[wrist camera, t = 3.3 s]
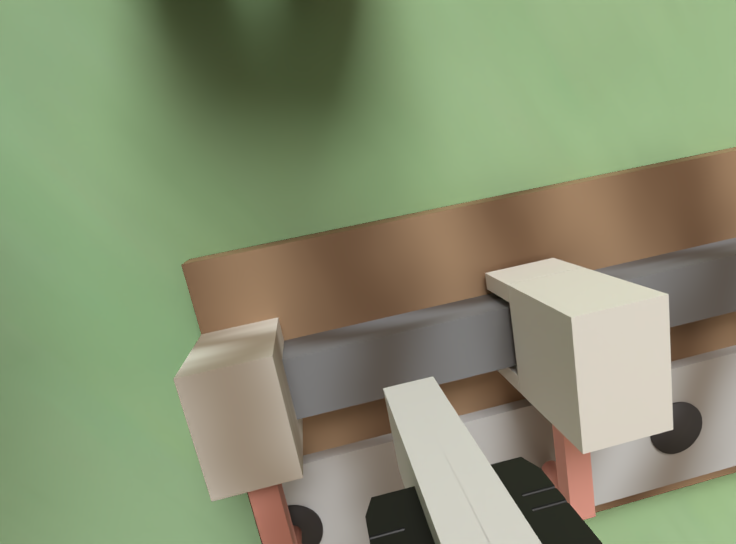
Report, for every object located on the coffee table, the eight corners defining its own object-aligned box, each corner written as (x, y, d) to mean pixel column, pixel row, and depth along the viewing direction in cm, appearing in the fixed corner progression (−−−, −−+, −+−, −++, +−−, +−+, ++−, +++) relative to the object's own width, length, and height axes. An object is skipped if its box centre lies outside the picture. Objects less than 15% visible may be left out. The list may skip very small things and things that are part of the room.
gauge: (280, 580, 22) (274, 702, 17) (189, 259, 18) (145, 291, 13) (743, 449, 24) (859, 521, 19) (745, 145, 21) (889, 134, 16)
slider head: (511, 477, 21) (595, 596, 15) (484, 272, 18) (571, 317, 13) (572, 461, 21) (678, 571, 15) (553, 257, 19) (668, 294, 13)
